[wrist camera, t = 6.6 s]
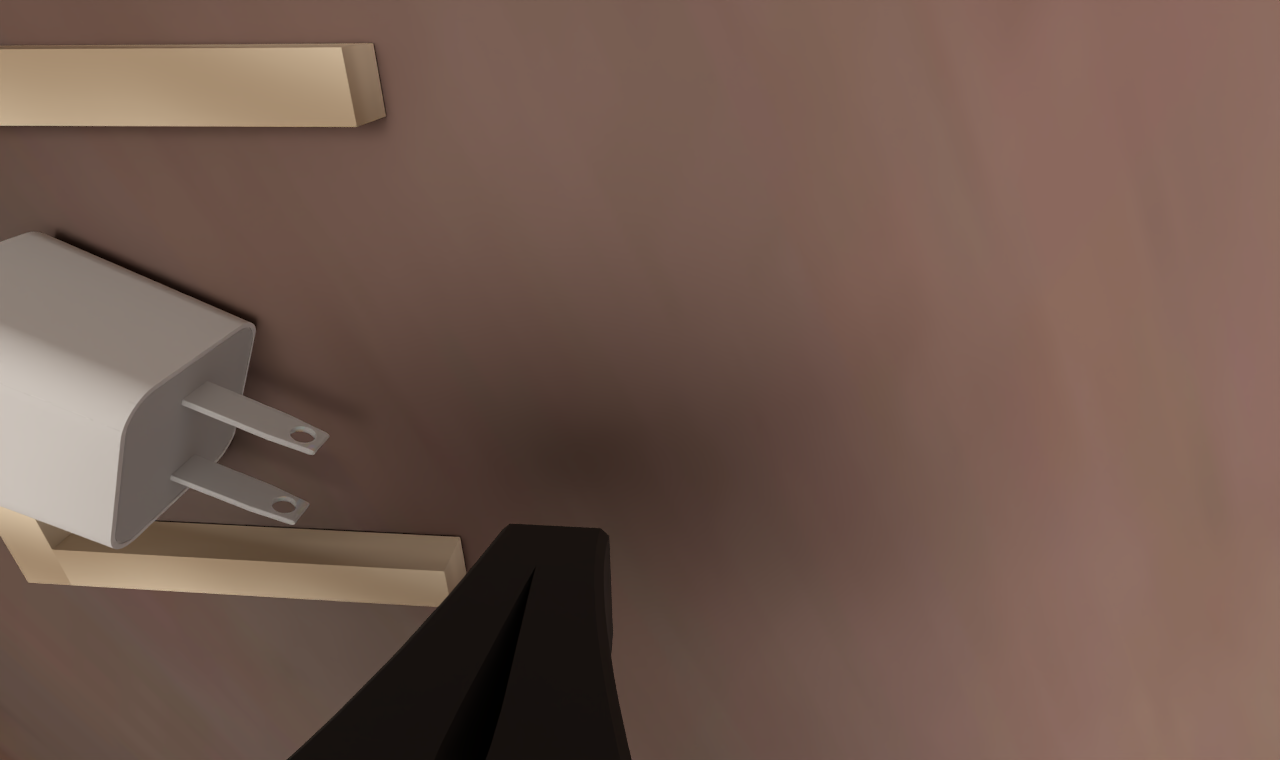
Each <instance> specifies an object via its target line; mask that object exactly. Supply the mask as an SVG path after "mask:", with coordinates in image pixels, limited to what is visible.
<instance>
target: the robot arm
mask: <svg viewBox="0 0 1280 760" xmlns="http://www.w3.org/2000/svg"><path fill="white" fill-rule="evenodd" d="M612 638H613V623H612V597H611V571H610V546H609V536H608V535H607V534H606V533H605V532H604V531H603V530H602V529H601V528H582V527H563V526H543V525H524V524H509V525H508V526H507V527H505V528H504V529H503V530H502V531H501V532H500V534H499V535H498V536H497V537H496V538H495V540H494V541H493V542H492V543H491V545H490V546H489V547H488V548H487V550H486V551H485V552H484V553H483V554H482V556H481V557H480V558H479V559H478V561H477V562H476V563H475V564H474V565H473V567H472V568H471V569H470V570H469V571H468V573H467V574H466V575H465V576H464V577H463V579H462V580H461V581H460V582H459V583H458V584H457V586H456V587H455V588H454V589H453V590H452V591H451V593H450V594H449V595H448V596H447V597H446V598H445V600H444V601H443V602H442V603H441V604H440V605H439V606H438V607H437V609H436V610H435V611H434V612H433V613H432V614H431V615H430V616H429V617H428V618H427V620H426V621H425V622H424V623H423V624H422V625H421V626H420V627H419V628H418V630H417V631H416V632H415V633H414V634H413V635H412V636H411V637H410V638H409V640H408V641H407V642H406V643H405V644H404V645H403V646H402V647H401V648H400V649H399V650H398V651H397V653H396V654H395V655H394V656H393V657H392V658H391V659H390V660H389V661H388V662H387V663H386V664H385V665H384V666H383V667H382V668H381V669H380V670H379V671H378V672H377V673H376V674H375V675H374V676H373V677H372V678H371V679H370V680H369V681H368V682H367V683H366V684H365V685H364V686H363V687H362V688H361V689H360V690H359V691H358V692H357V693H356V694H355V695H354V696H353V697H352V698H351V699H350V700H349V701H348V702H347V703H346V704H345V705H344V706H343V707H342V708H341V709H340V710H339V711H338V712H337V713H336V714H335V715H334V716H333V717H332V718H331V719H330V720H329V721H328V722H327V723H326V724H325V725H324V726H323V727H322V728H321V729H320V730H318V731H317V732H316V733H315V734H314V735H313V736H312V737H311V738H310V739H309V740H308V741H307V742H306V743H305V744H304V745H302V746H301V747H300V748H299V749H298V750H297V751H296V752H295V753H294V754H293V755H292V756H290V757H289V758H288V759H287V760H632V759H631V755H630V751H629V747H628V743H627V738H626V733H625V729H624V724H623V720H622V715H621V710H620V706H619V701H618V695H617V690H616V685H615V679H614V673H613V667H612V660H611V651H612Z"/></svg>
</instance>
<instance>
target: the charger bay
mask: <svg viewBox="0 0 1280 760" xmlns="http://www.w3.org/2000/svg"><path fill="white" fill-rule="evenodd" d="M383 117H386V113H385V108H384V102H383V96H382V91H381V85H380V79H379V74H378V68H377V62H376V56H375V51H374V45H373V43H339V44H178V45H17V46H0V126H243V127H358V126H361V125H364V124H366V123H369V122H372V121H375V120H378V119H380V118H383ZM0 536H1V537H2V539H3V541H4V542H5V544H6V546H7V547H8V549H9V551H10V552H11V554H12V556H13V558H14V559H15V561H16V563H17V564H18V566H19V568H20V569H21V571H22V573H23V574H24V576H25V578H26V579H27V581H28V583H45V584H62V585H79V586H95V587H112V588H129V589H146V590H162V591H179V592H196V593H213V594H229V595H246V596H263V597H280V598H296V599H313V600H330V601H347V602H363V603H380V604H397V605H414V606H430V607H438V606H439V605H440V604H441V603H442V602H443V601H444V600H445V598H446V597H447V596H448V595H449V594H450V593H451V591H452V590H453V589H454V588H455V587H456V586H457V584H458V583H459V582H460V581H461V580H462V579H463V577H464V576H465V574H466V568H465V562H464V556H463V551H462V545H461V539H460V537H450V536H430V535H411V534H391V533H372V532H353V531H333V530H314V529H294V528H275V527H255V526H236V525H216V524H197V523H177V522H158V521H154V522H153V523H152V524H151V525H150V526H149V527H148V528H147V529H146V530H145V531H144V532H143V533H141V534H140V535H139V536H138V537H137V538H136V539H135V540H134V541H133V542H131V543H130V544H129V545H127V546H126V547H124V548H121V549H114V548H111V547H108V546H106V545H103V544H100V543H98V542H95V541H92V540H90V539H87V538H84V537H82V536H79V535H76V534H74V533H71V532H68V531H66V530H63V529H60V528H57V527H55V526H52V525H49V524H47V523H44V522H41V521H39V520H36V519H33V518H31V517H28V516H25V515H23V514H20V513H17V512H15V511H12V510H9V509H7V508H4V507H1V506H0Z"/></svg>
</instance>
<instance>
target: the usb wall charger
mask: <svg viewBox="0 0 1280 760" xmlns="http://www.w3.org/2000/svg"><path fill="white" fill-rule="evenodd" d="M255 333H256V328H255V325H254V324H253V323H251V322H248V321H246V320H244V319H241V318H239V317H237V316H235V315H232V314H230V313H228V312H225V311H223V310H221V309H218V308H216V307H214V306H211V305H209V304H207V303H204V302H202V301H200V300H197V299H195V298H193V297H190V296H188V295H186V294H183V293H181V292H179V291H177V290H174V289H172V288H170V287H167V286H165V285H163V284H160V283H158V282H156V281H153V280H151V279H149V278H146V277H144V276H142V275H139V274H137V273H135V272H132V271H130V270H128V269H126V268H123V267H121V266H119V265H116V264H114V263H112V262H109V261H107V260H105V259H102V258H100V257H98V256H95V255H93V254H91V253H88V252H86V251H84V250H81V249H79V248H77V247H75V246H72V245H70V244H68V243H65V242H63V241H61V240H58V239H56V238H54V237H51V236H49V235H47V234H44V233H42V232H28V233H25V234H22V235H19V236H16V237H13V238H10V239H7V240H4V241H1V242H0V506H1V507H4V508H7V509H9V510H12V511H15V512H17V513H20V514H23V515H25V516H28V517H31V518H33V519H36V520H39V521H41V522H44V523H47V524H49V525H52V526H55V527H57V528H60V529H63V530H66V531H68V532H71V533H74V534H76V535H79V536H82V537H84V538H87V539H90V540H92V541H95V542H98V543H100V544H103V545H106V546H108V547H111V548H114V549H121V548H124V547H126V546H127V545H129V544H130V543H131V542H133V541H134V540H135V539H136V538H137V537H138V536H139V535H140V534H141V533H143V532H144V531H145V530H146V529H147V528H148V527H149V526H150V525H151V524H152V523H153V522H154V521H155V520H156V519H157V518H158V517H159V516H161V515H162V514H163V513H164V512H165V511H166V510H167V509H168V508H169V507H170V506H171V505H172V504H173V503H174V502H175V501H176V500H178V499H179V498H180V497H181V496H182V495H183V494H184V493H185V492H186V491H187V490H188V489H189V488H192V489H195V490H197V491H200V492H202V493H205V494H207V495H210V496H213V497H215V498H218V499H220V500H223V501H225V502H228V503H230V504H233V505H235V506H238V507H241V508H243V509H246V510H248V511H251V512H254V513H257V514H260V515H263V516H266V517H269V518H272V519H275V520H278V521H281V522H284V523H287V524H291V525H294V524H295V523H296V522H297V521H298V519H299V518H300V517H301V515H302V514H303V513H304V512H305V510H306V509H307V508H308V507H309V503H308V502H307V501H305V500H303V499H300V498H298V497H296V496H294V495H292V494H290V493H288V492H286V491H283V490H281V489H279V488H277V487H275V486H273V485H271V484H268V483H266V482H263V481H261V480H258V479H256V478H253V477H251V476H248V475H246V474H243V473H241V472H238V471H235V470H233V469H230V468H228V467H225V466H223V465H220V464H218V463H217V462H218V460H219V459H220V458H221V457H222V455H223V454H224V453H225V451H226V450H227V448H228V446H229V445H230V443H231V441H232V439H233V437H234V435H235V431H236V427H237V428H239V429H242V430H244V431H247V432H249V433H252V434H254V435H257V436H259V437H261V438H264V439H266V440H269V441H272V442H275V443H278V444H281V445H283V446H286V447H289V448H292V449H295V450H298V451H300V452H303V453H306V454H309V455H314V454H315V453H316V452H317V451H318V450H319V448H320V447H321V446H322V445H323V444H324V443H325V442H326V440H327V439H328V438H329V434H328V433H326V432H324V431H322V430H320V429H318V428H316V427H314V426H312V425H310V424H308V423H306V422H303V421H301V420H299V419H297V418H295V417H293V416H291V415H289V414H287V413H284V412H282V411H279V410H277V409H275V408H272V407H270V406H267V405H265V404H262V403H260V402H258V401H255V400H253V399H250V398H248V397H246V396H243V392H244V387H245V382H246V377H247V373H248V368H249V363H250V358H251V353H252V348H253V343H254V338H255ZM294 432H306V433H309V434H310V435H312V436H313V437H314V440H313V441H311V442H307V443H303V442H298V441H296V440H294V439H293V438H292V437H291V436H290V434H292V433H294ZM278 501H287V502H290V503H292V504H293V505H294V506H295V510H294V511H292V512H289V513H280V512H277V511H275V510H274V509H273V507H272V505H273V504H274V503H275V502H278Z"/></svg>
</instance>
